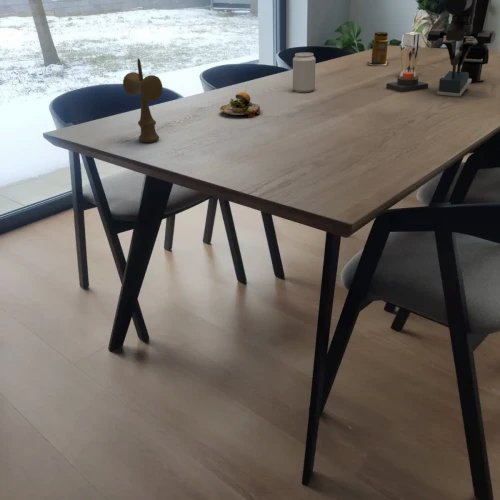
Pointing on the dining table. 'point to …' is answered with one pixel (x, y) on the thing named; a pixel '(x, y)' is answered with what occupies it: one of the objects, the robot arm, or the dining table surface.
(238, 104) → the burger
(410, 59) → the beer glass
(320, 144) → the dining table surface
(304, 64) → the can
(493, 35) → the robot arm
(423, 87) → the switch block
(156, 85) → the kendama
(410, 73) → the power button
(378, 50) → the condiment
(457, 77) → the iron
